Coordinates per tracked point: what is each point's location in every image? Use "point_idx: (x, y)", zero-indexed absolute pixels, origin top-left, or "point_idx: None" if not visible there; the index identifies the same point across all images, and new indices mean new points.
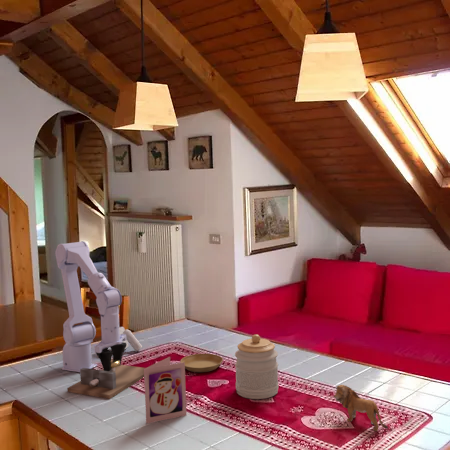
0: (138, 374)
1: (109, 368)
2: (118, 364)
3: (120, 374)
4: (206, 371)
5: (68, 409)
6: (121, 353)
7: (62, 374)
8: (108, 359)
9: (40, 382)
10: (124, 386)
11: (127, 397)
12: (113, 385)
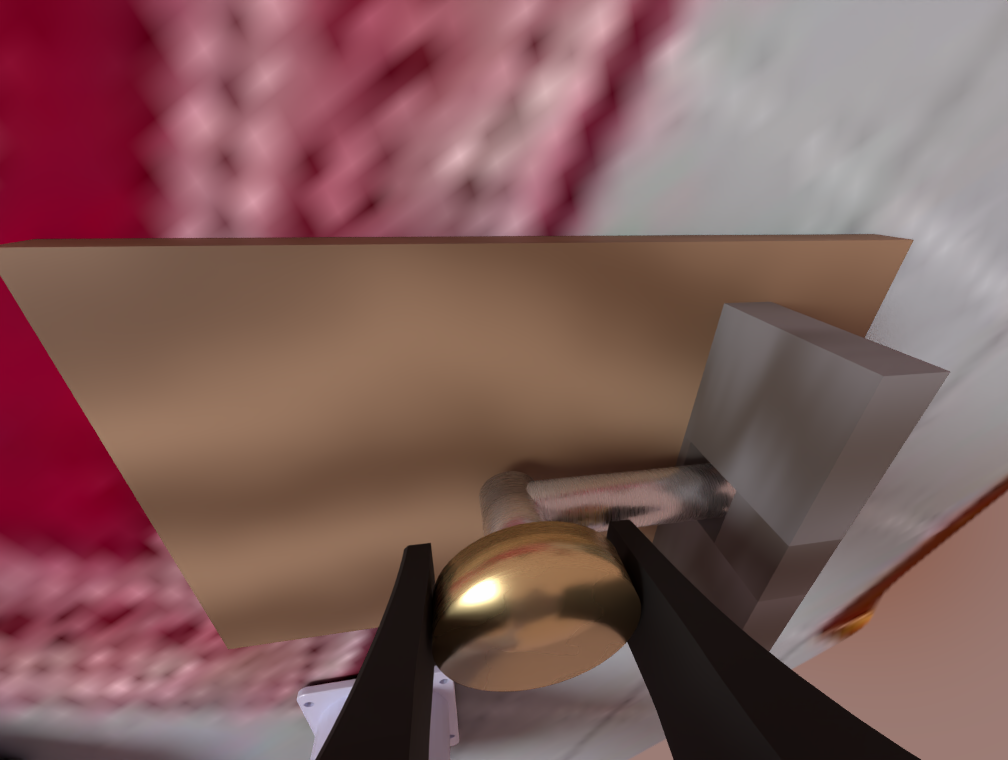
0: (301, 311)
1: (651, 542)
2: (538, 538)
3: (406, 471)
4: None
5: (997, 389)
6: (396, 732)
7: (507, 700)
8: (791, 672)
9: (627, 690)
10: (681, 241)
11: (854, 66)
12: (791, 313)
